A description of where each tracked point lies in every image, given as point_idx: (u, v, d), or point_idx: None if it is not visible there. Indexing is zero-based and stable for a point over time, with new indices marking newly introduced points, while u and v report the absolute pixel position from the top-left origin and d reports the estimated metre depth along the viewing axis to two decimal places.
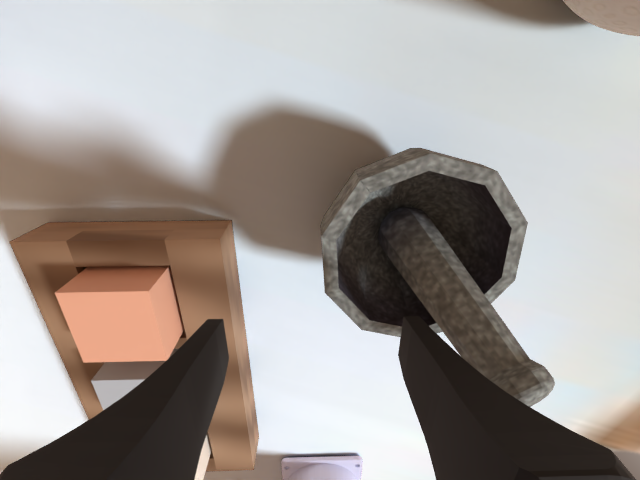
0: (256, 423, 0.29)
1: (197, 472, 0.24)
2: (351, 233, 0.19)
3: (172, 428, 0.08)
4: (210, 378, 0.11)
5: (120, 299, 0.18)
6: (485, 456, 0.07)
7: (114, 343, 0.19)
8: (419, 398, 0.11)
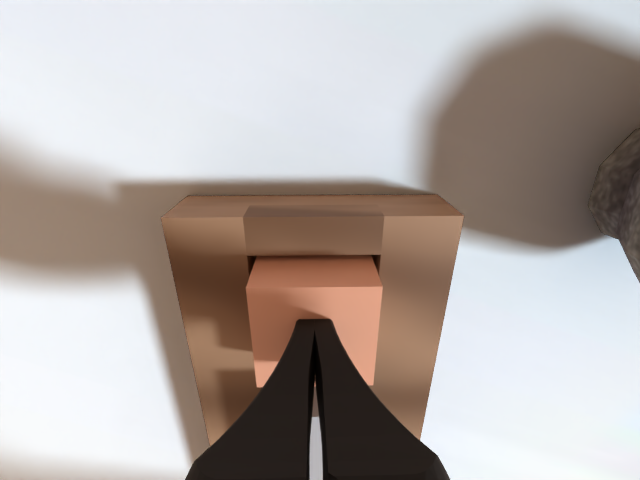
0: None
1: None
2: None
3: (308, 425, 0.08)
4: (312, 376, 0.11)
5: (338, 297, 0.12)
6: (326, 460, 0.07)
7: None
8: (319, 400, 0.11)
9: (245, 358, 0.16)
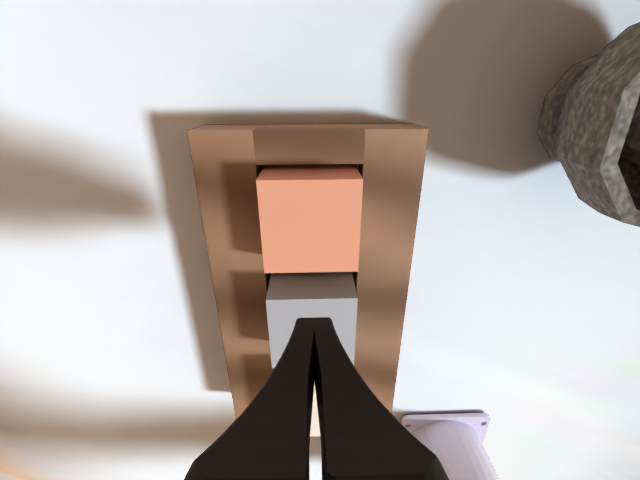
0: None
1: None
2: None
3: (307, 425, 0.08)
4: (312, 376, 0.11)
5: (328, 189, 0.15)
6: (325, 460, 0.07)
7: (305, 248, 0.17)
8: (318, 400, 0.11)
9: (254, 260, 0.19)
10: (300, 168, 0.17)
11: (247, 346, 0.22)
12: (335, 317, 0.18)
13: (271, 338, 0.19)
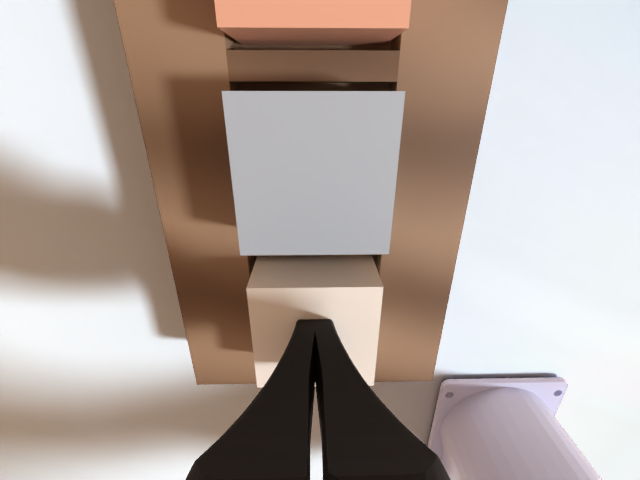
0: None
1: (376, 353, 0.13)
2: None
3: (308, 425, 0.08)
4: (312, 376, 0.11)
5: None
6: (326, 460, 0.07)
7: None
8: (319, 400, 0.11)
9: (207, 49, 0.10)
10: None
11: (205, 237, 0.13)
12: (359, 138, 0.09)
13: (236, 187, 0.10)
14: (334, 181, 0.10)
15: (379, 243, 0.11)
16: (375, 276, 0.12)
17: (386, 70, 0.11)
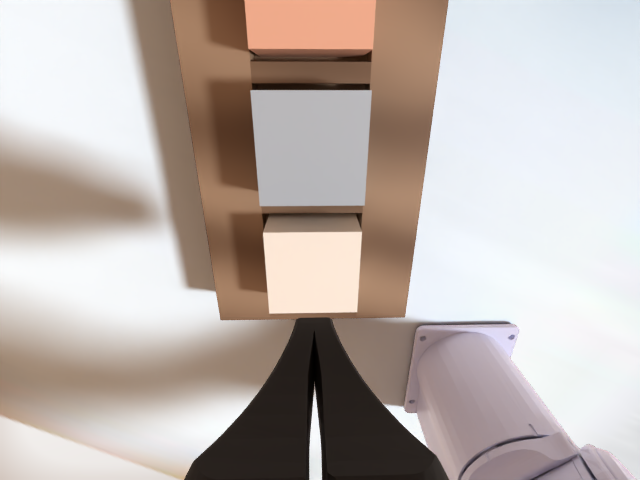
0: None
1: (358, 285, 0.18)
2: None
3: (307, 425, 0.08)
4: (312, 376, 0.11)
5: None
6: (325, 460, 0.07)
7: (303, 6, 0.12)
8: (318, 400, 0.11)
9: (237, 61, 0.15)
10: None
11: (231, 199, 0.17)
12: (342, 122, 0.14)
13: (258, 156, 0.14)
14: (325, 152, 0.14)
15: (357, 197, 0.15)
16: (356, 226, 0.17)
17: (362, 75, 0.15)
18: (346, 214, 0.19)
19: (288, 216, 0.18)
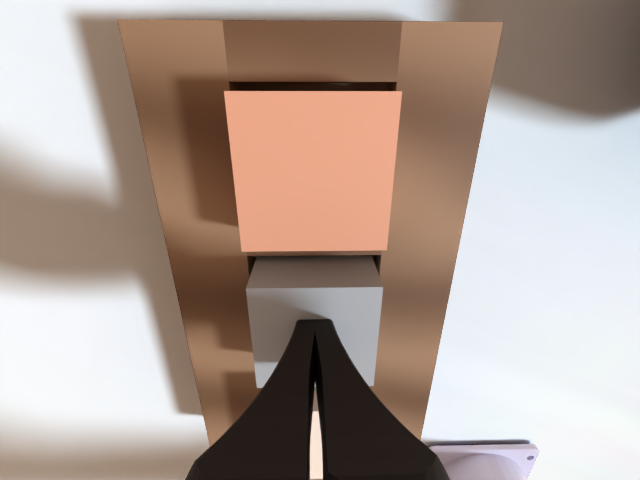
0: None
1: None
2: None
3: (308, 425, 0.08)
4: (312, 376, 0.11)
5: (344, 109, 0.09)
6: (326, 460, 0.07)
7: (305, 212, 0.11)
8: (319, 400, 0.11)
9: (230, 236, 0.13)
10: None
11: (224, 360, 0.16)
12: (349, 315, 0.12)
13: (255, 345, 0.13)
14: None
15: (365, 379, 0.14)
16: None
17: None
18: None
19: None
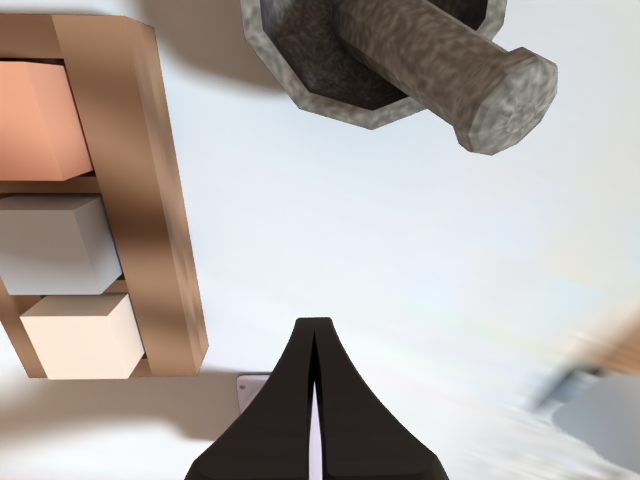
0: (204, 327, 0.25)
1: (121, 357, 0.20)
2: (296, 18, 0.15)
3: (307, 425, 0.08)
4: (312, 376, 0.11)
5: None
6: (325, 460, 0.07)
7: None
8: (318, 400, 0.11)
9: None
10: None
11: None
12: (56, 233, 0.17)
13: None
14: (51, 255, 0.17)
15: (91, 288, 0.18)
16: (111, 308, 0.19)
17: (92, 187, 0.18)
18: None
19: None
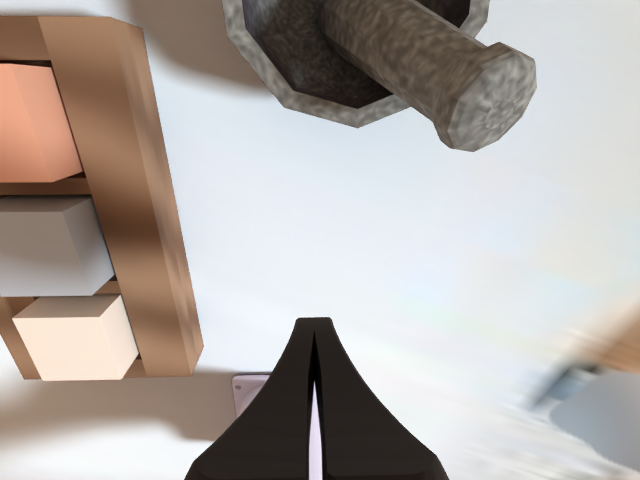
0: (198, 327, 0.25)
1: (114, 358, 0.20)
2: (283, 17, 0.15)
3: (307, 425, 0.08)
4: (312, 376, 0.11)
5: None
6: (325, 460, 0.07)
7: None
8: (318, 400, 0.11)
9: None
10: None
11: None
12: (46, 234, 0.17)
13: None
14: (42, 256, 0.17)
15: (83, 289, 0.18)
16: (103, 309, 0.19)
17: (82, 188, 0.18)
18: None
19: None
